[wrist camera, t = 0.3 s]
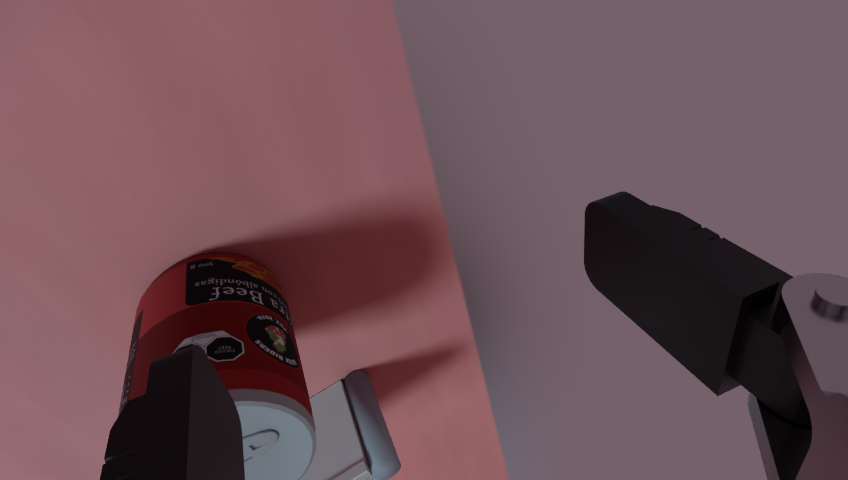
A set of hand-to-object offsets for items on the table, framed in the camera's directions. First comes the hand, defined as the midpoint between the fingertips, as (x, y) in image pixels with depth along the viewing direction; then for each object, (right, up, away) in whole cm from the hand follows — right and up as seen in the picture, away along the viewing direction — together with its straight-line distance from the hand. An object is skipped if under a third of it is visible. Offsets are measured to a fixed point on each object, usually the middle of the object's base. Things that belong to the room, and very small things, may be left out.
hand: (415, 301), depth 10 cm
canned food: (-12, -2, +19) cm, 23 cm away
